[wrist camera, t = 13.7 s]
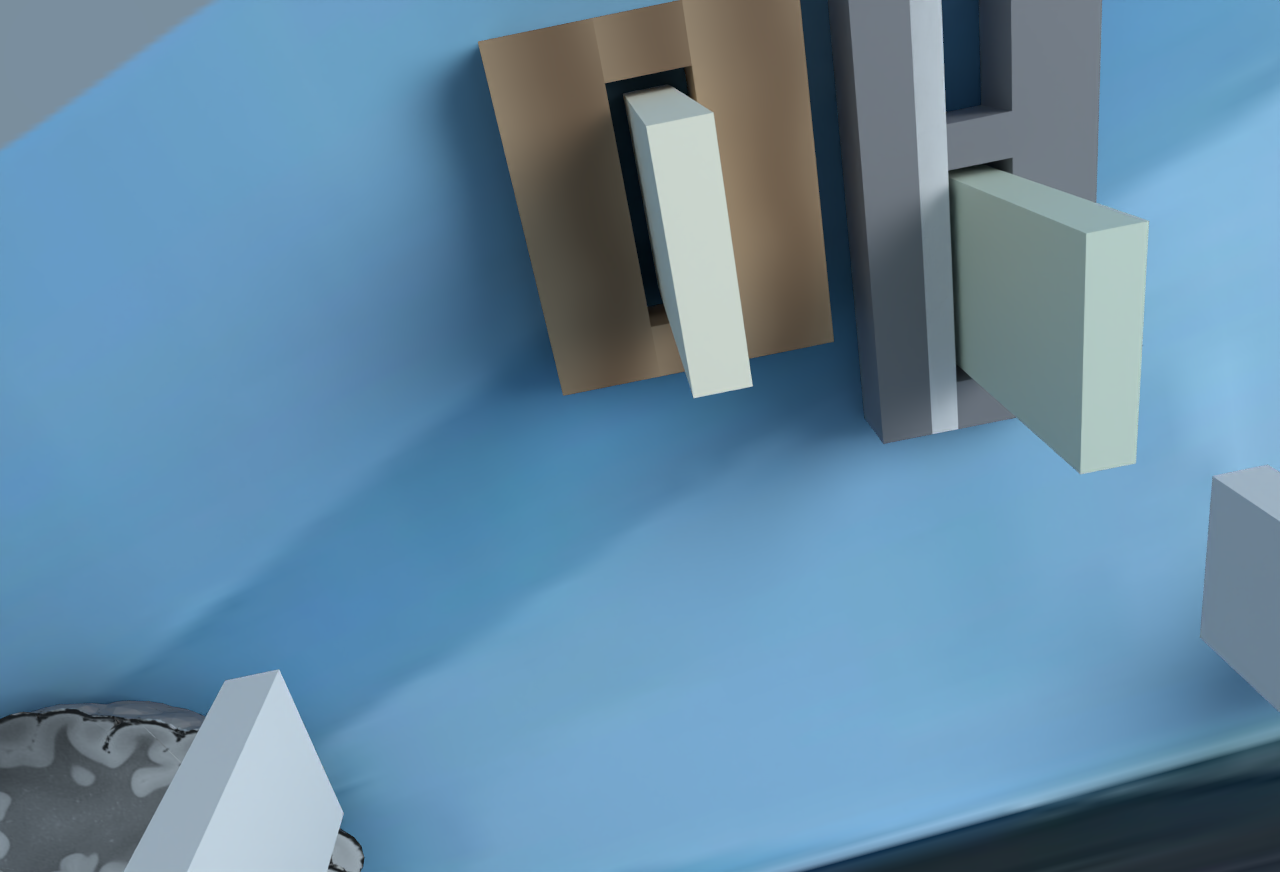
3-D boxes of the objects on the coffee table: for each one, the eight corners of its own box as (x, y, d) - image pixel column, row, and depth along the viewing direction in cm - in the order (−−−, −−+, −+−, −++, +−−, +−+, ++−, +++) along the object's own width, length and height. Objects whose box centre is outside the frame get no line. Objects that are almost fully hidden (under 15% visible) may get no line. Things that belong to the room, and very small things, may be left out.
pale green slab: (658, 288, 34) (693, 398, 24) (622, 93, 31) (646, 126, 21) (700, 279, 34) (752, 386, 24) (668, 84, 31) (713, 112, 21)
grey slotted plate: (864, 417, 37) (883, 443, 34) (811, -191, 28) (832, -210, 26) (1058, 379, 37) (1090, 402, 34) (1065, -244, 28) (1109, -268, 26)
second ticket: (938, 348, 36) (1080, 474, 26) (930, 169, 33) (1086, 233, 23) (978, 340, 36) (1135, 463, 26) (973, 160, 33) (1148, 220, 23)
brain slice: (435, 898, 47) (427, 951, 44) (136, 982, 48) (110, 1039, 45) (258, 603, 39) (235, 646, 36) (-97, 712, 40) (-146, 762, 37)
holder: (563, 371, 35) (563, 395, 33) (484, 40, 30) (477, 41, 28) (817, 321, 35) (833, 341, 33) (780, -21, 30) (797, -25, 28)
